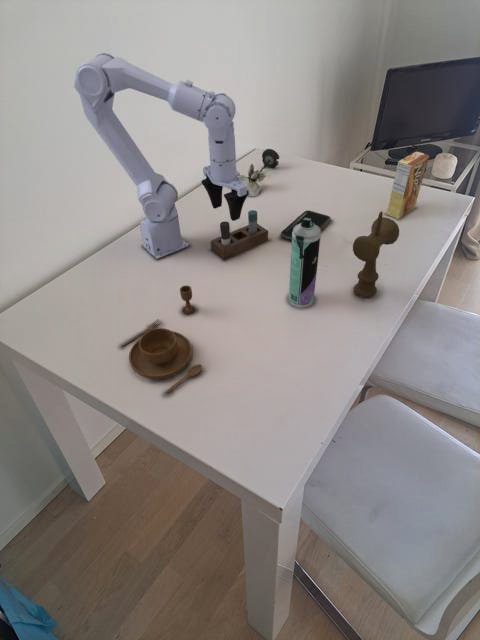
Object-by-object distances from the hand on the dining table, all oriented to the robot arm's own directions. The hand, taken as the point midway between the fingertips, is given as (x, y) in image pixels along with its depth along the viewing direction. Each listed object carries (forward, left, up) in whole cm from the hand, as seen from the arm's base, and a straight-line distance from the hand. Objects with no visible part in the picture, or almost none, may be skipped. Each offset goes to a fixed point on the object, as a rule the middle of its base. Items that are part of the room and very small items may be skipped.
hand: (226, 213), depth 104 cm
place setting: (-28, -22, -10) cm, 37 cm away
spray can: (+1, -27, -10) cm, 29 cm away
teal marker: (+7, -1, -10) cm, 13 cm away
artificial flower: (+31, +25, -10) cm, 41 cm away
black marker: (-1, -1, -10) cm, 10 cm away
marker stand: (+3, -1, -10) cm, 11 cm away
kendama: (+13, -34, -10) cm, 38 cm away
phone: (+22, -6, -10) cm, 25 cm away
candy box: (+49, -16, -10) cm, 52 cm away
